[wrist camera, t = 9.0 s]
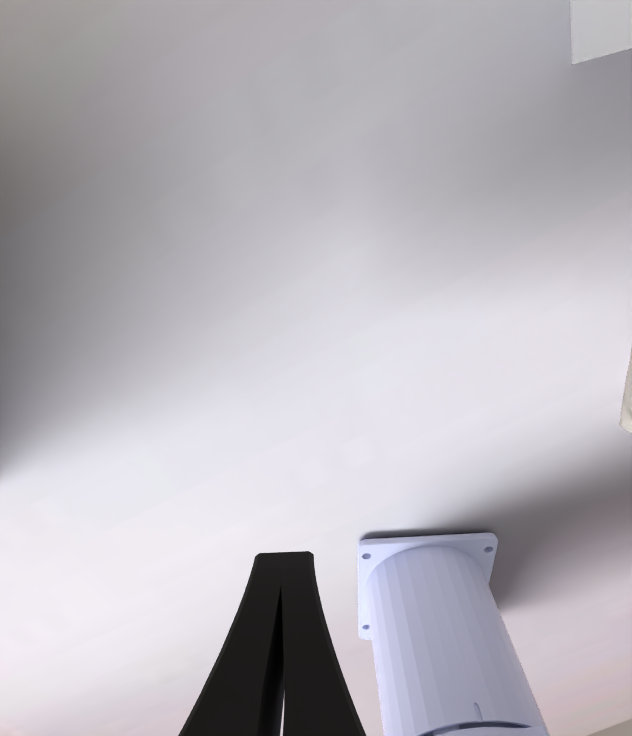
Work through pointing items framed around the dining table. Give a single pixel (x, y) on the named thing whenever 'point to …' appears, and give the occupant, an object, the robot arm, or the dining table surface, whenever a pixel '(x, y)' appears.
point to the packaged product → (627, 401)
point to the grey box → (600, 28)
